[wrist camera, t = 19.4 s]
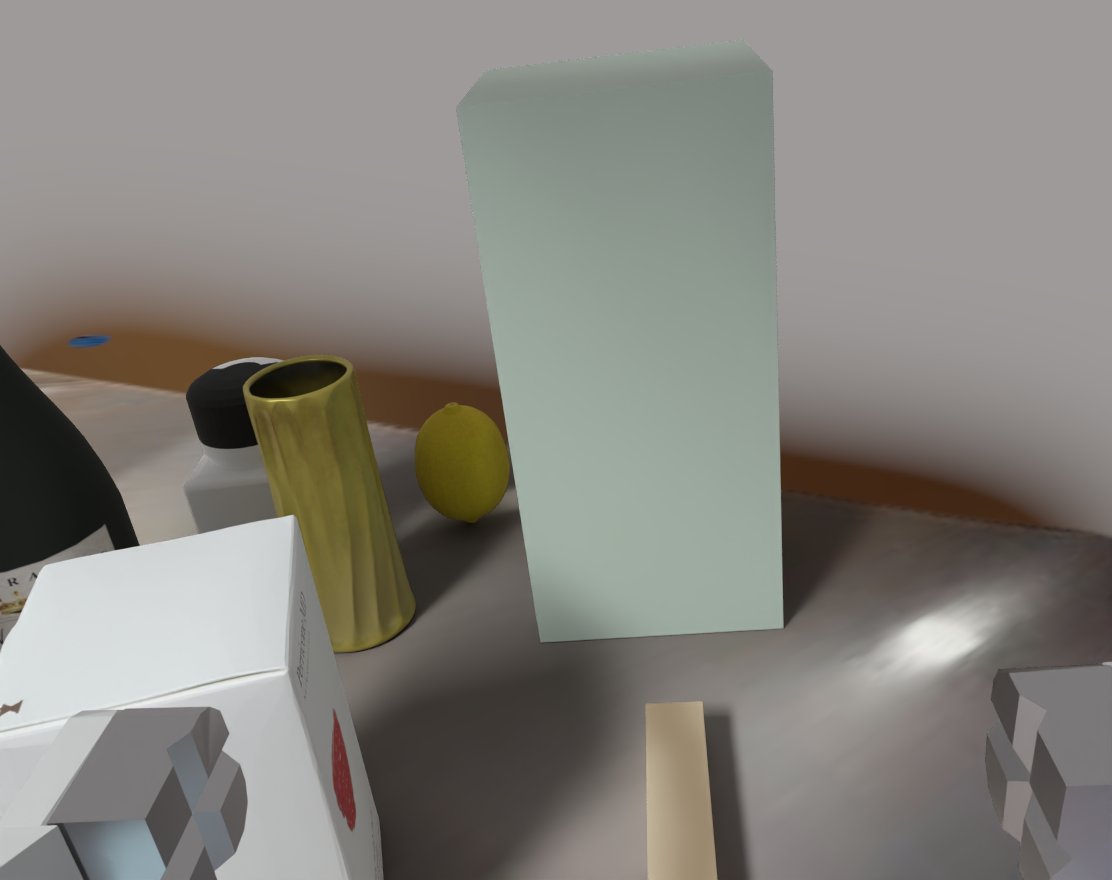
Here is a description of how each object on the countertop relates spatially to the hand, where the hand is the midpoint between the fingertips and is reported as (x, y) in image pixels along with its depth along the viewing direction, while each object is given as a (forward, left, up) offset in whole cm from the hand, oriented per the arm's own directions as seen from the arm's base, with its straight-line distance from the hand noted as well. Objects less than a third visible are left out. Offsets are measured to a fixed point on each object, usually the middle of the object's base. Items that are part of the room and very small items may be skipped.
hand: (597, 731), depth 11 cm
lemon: (-11, +44, -25) cm, 52 cm away
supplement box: (-15, +16, -25) cm, 33 cm away
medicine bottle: (-22, +42, -25) cm, 53 cm away
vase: (-16, +35, -25) cm, 46 cm away
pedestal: (0, +37, -24) cm, 44 cm away
